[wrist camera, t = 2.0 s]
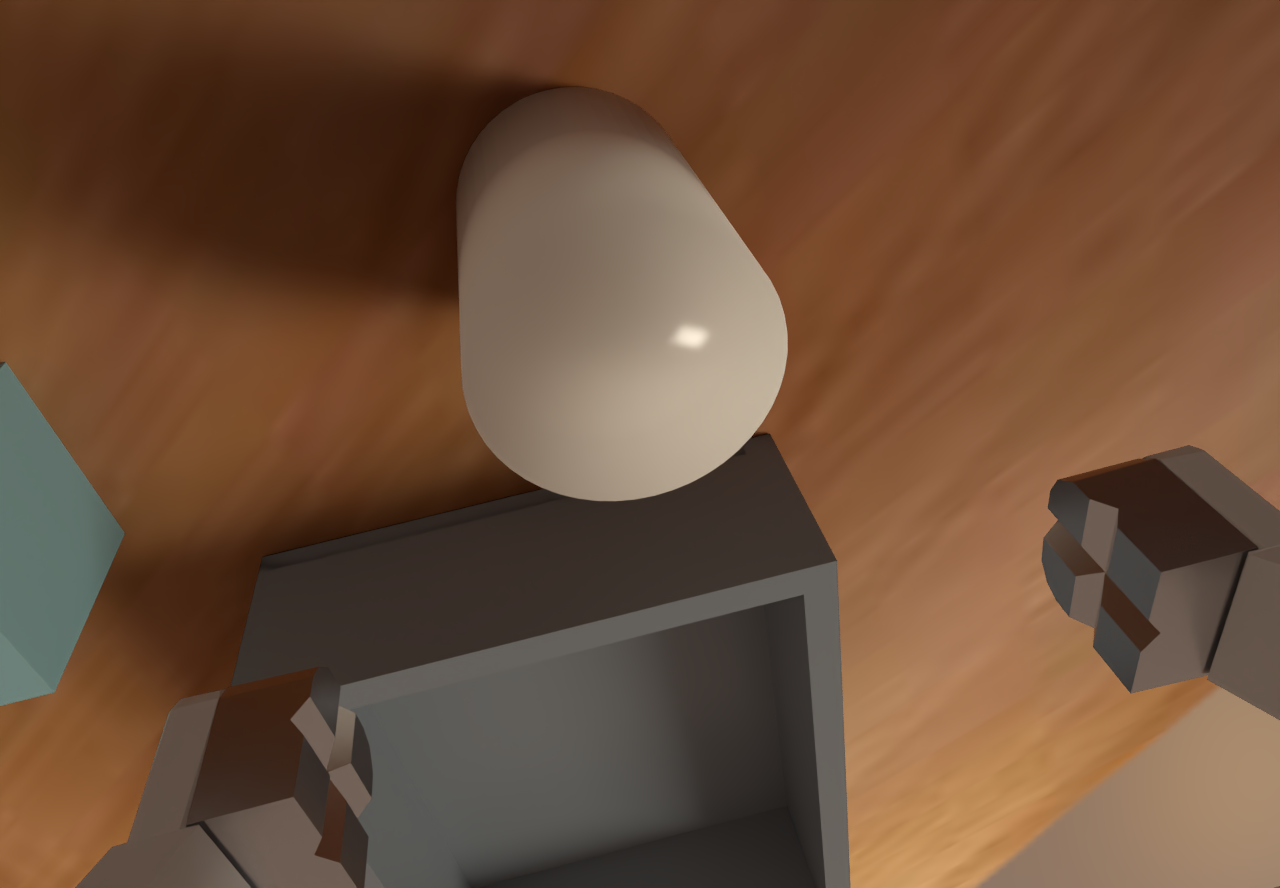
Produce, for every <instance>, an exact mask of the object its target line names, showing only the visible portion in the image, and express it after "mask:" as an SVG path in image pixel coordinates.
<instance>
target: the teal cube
mask: <svg viewBox="0 0 1280 888" xmlns="http://www.w3.org/2000/svg"><path fill="white" fill-rule="evenodd" d="M124 535H125V533H124V531H123V530H122V529H121V527H120V526H119V524H118V523H117V521H116V520H115V519H114V517H113V516H112V514H111V513H110V511H109V510H108V508H107V507H106V506H105V504H104V503H103V501H102V500H101V498H100V497H99V496H98V494H97V493H96V491H95V490H94V488H93V487H92V485H91V484H90V483H89V481H88V480H87V478H86V477H85V475H84V474H83V473H82V471H81V470H80V468H79V467H78V465H77V464H76V462H75V461H74V460H73V458H72V457H71V455H70V454H69V452H68V451H67V449H66V448H65V447H64V445H63V444H62V442H61V441H60V439H59V438H58V437H57V435H56V434H55V432H54V431H53V429H52V428H51V426H50V425H49V424H48V422H47V421H46V419H45V418H44V416H43V415H42V414H41V412H40V411H39V409H38V408H37V406H36V405H35V403H34V402H33V401H32V399H31V398H30V396H29V395H28V393H27V392H26V391H25V389H24V388H23V386H22V385H21V383H20V382H19V380H18V379H17V378H16V376H15V375H14V373H13V372H12V370H11V369H10V368H9V366H8V365H7V363H6V362H4V363H0V706H2V705H6V704H10V703H14V702H18V701H22V700H26V699H30V698H34V697H38V696H42V695H46V694H50V693H54V692H55V690H56V688H57V686H58V683H59V681H60V679H61V677H62V674H63V672H64V670H65V668H66V665H67V663H68V661H69V659H70V656H71V654H72V652H73V649H74V647H75V645H76V643H77V640H78V638H79V636H80V634H81V631H82V629H83V627H84V625H85V622H86V620H87V618H88V616H89V613H90V611H91V609H92V607H93V604H94V602H95V600H96V598H97V595H98V593H99V591H100V589H101V586H102V584H103V582H104V580H105V577H106V575H107V573H108V571H109V568H110V566H111V564H112V562H113V559H114V557H115V555H116V553H117V550H118V548H119V546H120V544H121V541H122V539H123V537H124Z"/></svg>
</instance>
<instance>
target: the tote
mask: <svg viewBox="0 0 1280 888" xmlns="http://www.w3.org/2000/svg"><path fill="white" fill-rule="evenodd" d="M319 666H320V667H328V668H329V669H330V671H331V672H332V674H333V676H334V677H335V679H336V680H337V682H338V683H339V685H340V687H341V689H340V698H339V706H340V707H343V708H345V709H347V710H350V711H352V712H354V713H356V715H357V717H358V718H359V720H360V722H361V724H362V726H363V728H364V731H365V734H366V737H367V740H368V743H369V746H370V752H371V761H372V769H373V784H372V798H371V800H370V801H369V803H368V804H367V806H366V807H365V808H364V810H363V811H362V813H361V814H360V816H359V817H358V818H357V819H358V820H359V822H360V824H361V825H362V827H363V828H364V830H365V832H366V833H367V835H368V836H369V839H368V851H367V863H366V874H365V886H364V888H850V866H849V841H848V817H847V793H846V769H845V745H844V720H843V696H842V672H841V648H840V623H839V599H838V575H837V560H836V558H835V556H834V554H833V552H832V550H831V549H830V547H829V545H828V543H827V541H826V539H825V537H824V535H823V533H822V532H821V530H820V528H819V526H818V524H817V522H816V520H815V518H814V516H813V515H812V513H811V511H810V509H809V507H808V505H807V503H806V501H805V499H804V497H803V496H802V494H801V492H800V490H799V488H798V486H797V484H796V482H795V480H794V479H793V477H792V475H791V473H790V471H789V469H788V467H787V465H786V463H785V461H784V460H783V458H782V456H781V454H780V452H779V450H778V448H777V446H776V444H775V443H774V441H773V439H772V437H771V435H770V434H766V435H762V436H758V437H754V438H750V439H749V440H748V441H747V442H746V443H745V444H744V445H743V446H742V447H741V448H740V449H739V450H738V451H737V452H736V453H735V454H734V455H732V456H731V457H730V458H729V459H728V460H726V461H725V462H724V463H723V464H721V465H720V466H718V467H717V468H715V469H714V470H712V471H711V472H709V473H708V474H706V475H704V476H702V477H701V478H699V479H697V480H695V481H693V482H691V483H689V484H687V485H684V486H682V487H679V488H677V489H675V490H672V491H669V492H665V493H662V494H659V495H655V496H651V497H646V498H640V499H635V500H624V501H593V500H585V499H578V498H573V497H569V496H565V495H561V494H558V493H555V492H552V491H549V490H547V489H541V490H537V491H532V492H528V493H524V494H520V495H516V496H512V497H508V498H504V499H500V500H496V501H491V502H487V503H483V504H479V505H475V506H471V507H467V508H463V509H459V510H455V511H450V512H446V513H442V514H438V515H434V516H430V517H426V518H422V519H418V520H413V521H409V522H405V523H401V524H397V525H393V526H389V527H385V528H381V529H377V530H372V531H368V532H364V533H360V534H356V535H352V536H348V537H344V538H340V539H336V540H331V541H327V542H323V543H319V544H315V545H311V546H307V547H303V548H299V549H295V550H290V551H286V552H282V553H278V554H274V555H270V556H266V557H262V561H261V565H260V569H259V573H258V577H257V581H256V585H255V589H254V593H253V597H252V601H251V606H250V610H249V614H248V618H247V622H246V626H245V630H244V634H243V638H242V642H241V646H240V650H239V655H238V659H237V663H236V667H235V671H234V675H233V679H232V683H231V686H235V685H240V684H244V683H248V682H253V681H257V680H262V679H266V678H271V677H275V676H279V675H284V674H288V673H293V672H297V671H301V670H306V669H310V668H315V667H319Z"/></svg>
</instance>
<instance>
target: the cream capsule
mask: <svg viewBox="0 0 1280 888" xmlns="http://www.w3.org/2000/svg"><path fill="white" fill-rule="evenodd" d="M456 220H457V252H458V283H459V315H460V347H461V375H462V385H463V393H464V397H465V401H466V405H467V409H468V412H469V414H470V417H471V419H472V421H473V423H474V426H475V428H476V430H477V431H478V433H479V434H480V436H481V438H482V439H483V441H484V442H485V444H486V445H487V446H488V447H489V448H490V450H491V451H492V452H493V453H494V454H495V456H496V457H497V458H498V459H500V460H501V461H502V462H503V463H504V464H505V465H506V466H507V467H508V468H510V469H511V470H512V471H514V472H515V473H517V474H518V475H520V476H521V477H523V478H524V479H526V480H528V481H530V482H531V483H533V484H535V485H537V486H539V487H541V488H544V489H547V490H549V491H552V492H555V493H558V494H561V495H565V496H569V497H573V498H578V499H585V500H593V501H624V500H635V499H640V498H646V497H651V496H655V495H659V494H662V493H665V492H669V491H672V490H675V489H677V488H679V487H682V486H684V485H687V484H689V483H691V482H693V481H695V480H697V479H699V478H701V477H702V476H704V475H706V474H708V473H709V472H711V471H712V470H714V469H715V468H717V467H718V466H720V465H721V464H723V463H724V462H725V461H726V460H728V459H729V458H730V457H731V456H732V455H734V454H735V453H736V452H737V451H738V450H739V449H740V448H741V447H742V446H743V445H744V444H745V443H746V442H747V441H748V440H749V439H750V438H751V437H752V435H753V434H754V433H755V431H756V430H757V429H758V427H759V426H760V425H761V423H762V422H763V421H764V419H765V417H766V416H767V414H768V412H769V410H770V409H771V407H772V405H773V403H774V401H775V398H776V396H777V394H778V391H779V389H780V386H781V382H782V379H783V375H784V372H785V366H786V359H787V328H786V321H785V315H784V312H783V309H782V305H781V302H780V299H779V297H778V294H777V292H776V290H775V288H774V286H773V284H772V282H771V280H770V279H769V278H768V276H767V275H766V273H765V272H764V270H763V269H762V268H761V266H760V265H759V263H758V262H757V260H756V259H755V258H754V256H753V255H752V253H751V252H750V251H749V249H748V248H747V246H746V245H745V243H744V242H743V241H742V239H741V238H740V236H739V235H738V234H737V232H736V231H735V229H734V228H733V226H732V225H731V224H730V222H729V221H728V219H727V218H726V217H725V215H724V214H723V212H722V211H721V209H720V208H719V207H718V205H717V204H716V202H715V201H714V200H713V198H712V197H711V195H710V194H709V192H708V191H707V190H706V188H705V187H704V185H703V184H702V183H701V181H700V180H699V178H698V177H697V175H696V174H695V173H694V171H693V170H692V168H691V167H690V166H689V164H688V163H687V161H686V160H685V159H684V157H683V156H682V154H681V153H680V151H679V150H678V149H677V147H676V146H675V144H674V143H673V142H672V140H671V139H670V137H669V136H668V134H667V133H666V132H665V130H664V129H663V128H662V127H661V126H660V124H659V123H658V122H657V121H656V120H655V119H654V118H653V117H652V116H651V115H649V114H648V113H647V112H646V111H644V110H643V109H642V108H641V107H639V106H637V105H636V104H634V103H633V102H631V101H629V100H628V99H625V98H623V97H621V96H618V95H616V94H614V93H610V92H607V91H603V90H599V89H594V88H586V87H562V88H555V89H549V90H545V91H542V92H538V93H535V94H532V95H530V96H528V97H525V98H523V99H521V100H519V101H517V102H515V103H514V104H512V105H511V106H509V107H507V108H506V109H504V110H503V111H502V112H501V113H499V114H498V115H497V116H496V117H495V118H493V119H492V120H491V121H490V122H489V123H488V125H487V126H486V127H485V128H484V129H483V130H482V131H481V132H480V134H479V135H478V137H477V138H476V140H475V141H474V143H473V144H472V146H471V148H470V150H469V152H468V154H467V156H466V158H465V160H464V163H463V166H462V169H461V172H460V175H459V180H458V186H457V195H456Z"/></svg>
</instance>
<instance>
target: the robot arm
mask: <svg viewBox="0 0 1280 888" xmlns="http://www.w3.org/2000/svg"><path fill="white" fill-rule="evenodd" d="M1048 509H1049V510H1050V511H1051V512H1052V513H1053V514H1054V516H1055V517H1056V518H1057V519H1058V521H1057V522H1056V523H1055V525H1054V526H1053V527H1052V528H1051V529H1050V531H1049V532H1048V533H1047V534H1046V535H1045V537H1044V539H1043V551H1042V563H1043V567H1044V571H1045V575H1046V579H1047V583H1048V585H1049V587H1050V589H1051V591H1052V593H1053V595H1054V597H1055V599H1056V600H1057V602H1058V603H1059V604H1060V606H1061V607H1062V608H1063V609H1064V611H1065V612H1066V613H1067V615H1068V616H1069V617H1071V618H1073V619H1075V620H1077V621H1080V622H1082V623H1084V624H1086V625H1088V626H1091V627H1093V628H1094V640H1093V647H1094V649H1095V650H1096V651H1097V652H1098V654H1099V655H1100V656H1101V657H1102V658H1103V660H1104V661H1105V662H1106V663H1107V665H1108V666H1109V667H1110V668H1111V670H1112V671H1113V672H1114V673H1115V675H1116V676H1117V677H1118V678H1119V680H1120V681H1121V682H1122V683H1123V684H1124V686H1125V687H1126V688H1127V689H1128V691H1129V692H1130V693H1135V692H1139V691H1143V690H1147V689H1152V688H1156V687H1160V686H1164V685H1169V684H1173V683H1177V682H1181V681H1186V680H1190V679H1194V678H1198V677H1203V676H1207V675H1208V678H1207V680H1209V681H1211V682H1212V683H1214V684H1216V685H1218V686H1220V687H1221V688H1223V689H1225V690H1227V691H1229V692H1231V693H1232V694H1234V695H1236V696H1238V697H1239V698H1241V699H1243V700H1245V701H1247V702H1248V703H1250V704H1252V705H1254V706H1256V707H1257V708H1259V709H1261V710H1263V711H1265V712H1266V713H1268V714H1270V715H1272V716H1273V717H1275V718H1277V719H1279V720H1280V511H1279V510H1277V509H1276V508H1275V507H1274V506H1272V505H1271V504H1270V503H1269V502H1268V501H1266V500H1265V499H1264V498H1263V497H1261V496H1260V495H1259V494H1258V493H1256V492H1255V491H1254V490H1253V489H1251V488H1250V487H1249V486H1248V485H1246V484H1245V483H1244V482H1243V481H1241V480H1240V479H1239V478H1238V477H1236V476H1235V475H1234V474H1233V473H1231V472H1230V471H1229V470H1228V469H1226V468H1225V467H1224V466H1223V465H1222V464H1220V463H1219V462H1218V461H1217V460H1215V459H1214V458H1213V457H1212V456H1210V455H1209V454H1208V453H1207V452H1205V451H1204V450H1202V449H1199V448H1196V447H1193V446H1190V445H1188V446H1184V447H1180V448H1177V449H1173V450H1169V451H1165V452H1161V453H1158V454H1154V455H1150V456H1146V457H1144V458H1143V459H1135V460H1131V461H1128V462H1124V463H1120V464H1116V465H1112V466H1108V467H1105V468H1101V469H1097V470H1093V471H1089V472H1086V473H1082V474H1078V475H1074V476H1070V477H1067V478H1063V479H1059V480H1057V482H1056V483H1055V485H1054V486H1053V488H1052V489H1051V491H1050V497H1049V503H1048ZM340 689H341V687H340V685H339V683H338V682H337V680H336V679H335V677H334V676H333V674H332V672H331V671H330V669H329V668H328V667H320V666H319V667H315V668H310V669H306V670H301V671H297V672H293V673H288V674H284V675H279V676H275V677H271V678H266V679H262V680H257V681H253V682H248V683H244V684H240V685H235V686H231V687H228V688H227V689H222V690H218V691H213V692H209V693H204V694H200V695H195V696H191V697H186V698H182V699H180V700H179V701H178V702H177V703H176V704H175V706H174V707H173V708H172V709H171V710H170V712H169V714H168V717H167V720H166V723H165V726H164V730H163V733H162V736H161V739H160V742H159V745H158V748H157V751H156V754H155V758H154V761H153V764H152V767H151V770H150V773H149V776H148V779H147V782H146V786H145V789H144V792H143V795H142V798H141V801H140V804H139V807H138V810H137V814H136V817H135V820H134V823H133V826H132V829H131V832H130V835H129V838H128V842H127V843H124V844H121V845H117V846H114V847H112V848H111V849H110V850H109V851H108V852H107V853H106V854H105V855H104V856H103V858H102V859H101V860H100V861H99V862H98V863H97V864H96V865H95V866H94V868H93V869H92V870H91V871H90V872H89V873H88V874H87V875H86V876H85V877H84V879H83V880H82V881H81V882H80V883H79V884H78V885H77V886H76V887H75V888H364V886H365V874H366V863H367V851H368V839H369V836H368V835H367V833H366V832H365V830H364V828H363V827H362V825H361V824H360V822H359V820H358V819H357V818H358V817H359V816H360V814H361V813H362V811H363V810H364V808H365V807H366V806H367V804H368V803H369V801H370V800H371V798H372V784H373V769H372V761H371V752H370V746H369V743H368V740H367V737H366V734H365V731H364V728H363V726H362V724H361V722H360V720H359V718H358V717H357V715H356V713H354V712H352V711H350V710H347V709H345V708H343V707H340V706H339V698H340ZM1275 888H1280V886H1279V887H1275Z"/></svg>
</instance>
